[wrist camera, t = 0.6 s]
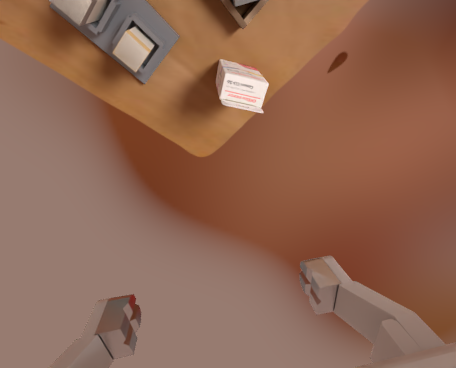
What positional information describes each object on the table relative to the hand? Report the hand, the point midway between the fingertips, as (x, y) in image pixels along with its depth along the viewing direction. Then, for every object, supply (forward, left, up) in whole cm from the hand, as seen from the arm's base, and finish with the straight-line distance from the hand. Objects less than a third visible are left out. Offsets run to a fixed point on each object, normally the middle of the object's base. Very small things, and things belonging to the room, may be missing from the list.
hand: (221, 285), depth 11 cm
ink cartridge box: (-3, +7, -47) cm, 48 cm away
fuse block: (+6, -15, -47) cm, 50 cm away
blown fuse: (+6, -19, -46) cm, 50 cm away
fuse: (+6, -10, -46) cm, 47 cm away
